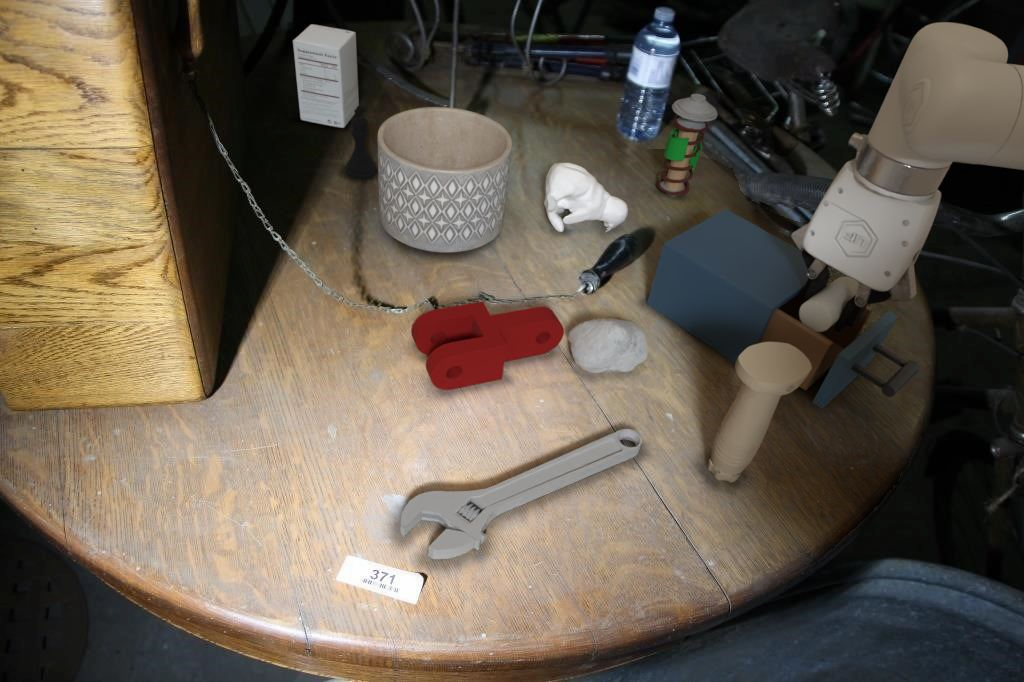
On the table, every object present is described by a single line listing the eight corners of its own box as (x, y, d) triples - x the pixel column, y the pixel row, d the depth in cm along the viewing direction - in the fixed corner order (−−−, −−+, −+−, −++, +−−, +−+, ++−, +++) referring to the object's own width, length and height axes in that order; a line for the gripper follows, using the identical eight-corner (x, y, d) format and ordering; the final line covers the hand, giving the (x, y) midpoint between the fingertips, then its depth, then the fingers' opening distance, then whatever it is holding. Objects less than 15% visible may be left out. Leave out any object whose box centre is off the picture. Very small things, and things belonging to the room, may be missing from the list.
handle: (682, 461, 74) (728, 351, 64) (734, 444, 77) (786, 336, 67) (710, 499, 71) (763, 390, 61) (764, 480, 74) (823, 373, 63)
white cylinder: (826, 337, 79) (835, 309, 77) (795, 323, 81) (803, 295, 79) (857, 312, 83) (866, 284, 81) (827, 299, 85) (835, 271, 83)
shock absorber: (695, 205, 111) (725, 109, 101) (653, 201, 111) (679, 104, 101) (689, 183, 116) (717, 89, 106) (648, 179, 115) (672, 84, 105)
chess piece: (339, 173, 107) (335, 106, 101) (357, 160, 110) (354, 95, 104) (364, 182, 106) (362, 116, 99) (382, 169, 109) (381, 104, 102)
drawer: (910, 388, 84) (941, 340, 80) (863, 436, 78) (894, 388, 73) (770, 303, 93) (791, 256, 89) (718, 340, 87) (737, 291, 82)
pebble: (594, 323, 88) (602, 290, 85) (654, 356, 85) (664, 323, 82) (552, 360, 83) (559, 326, 80) (614, 397, 80) (623, 363, 77)
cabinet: (802, 326, 92) (830, 266, 86) (745, 370, 85) (772, 308, 79) (705, 267, 99) (725, 208, 93) (646, 303, 92) (664, 242, 86)
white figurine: (551, 150, 100) (637, 169, 101) (537, 204, 106) (619, 221, 107) (549, 173, 96) (640, 193, 97) (534, 228, 101) (620, 247, 102)
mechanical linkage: (430, 394, 77) (431, 359, 74) (410, 348, 82) (411, 313, 79) (569, 364, 83) (576, 331, 80) (543, 323, 88) (549, 289, 84)
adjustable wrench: (628, 434, 76) (632, 422, 75) (664, 482, 72) (669, 470, 71) (394, 513, 66) (394, 501, 65) (421, 573, 62) (421, 562, 61)
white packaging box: (316, 101, 123) (310, 22, 114) (360, 109, 122) (357, 31, 114) (298, 120, 118) (291, 39, 109) (344, 129, 117) (339, 48, 108)
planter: (501, 195, 107) (510, 112, 99) (504, 264, 95) (514, 176, 87) (384, 187, 106) (383, 101, 97) (373, 256, 94) (370, 166, 85)
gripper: (801, 140, 72) (742, 290, 84) (972, 220, 64) (879, 373, 76) (839, 121, 76) (777, 266, 88) (1004, 194, 68) (911, 343, 80)
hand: (825, 314), depth 82 cm, fingers closed on white cylinder, 3 cm apart
